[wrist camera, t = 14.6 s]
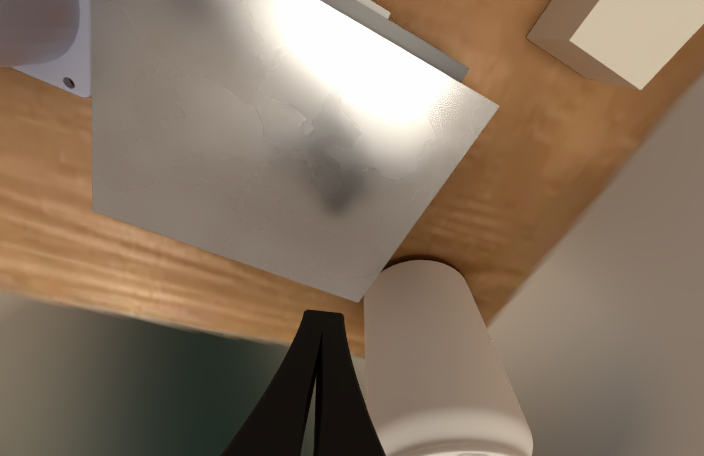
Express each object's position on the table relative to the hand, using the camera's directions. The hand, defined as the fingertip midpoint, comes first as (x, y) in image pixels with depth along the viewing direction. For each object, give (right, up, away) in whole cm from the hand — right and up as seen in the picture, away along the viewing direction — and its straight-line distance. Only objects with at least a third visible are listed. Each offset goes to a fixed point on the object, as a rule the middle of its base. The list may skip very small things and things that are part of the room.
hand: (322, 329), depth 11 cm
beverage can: (+6, -1, +13) cm, 14 cm away
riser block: (+12, +14, +3) cm, 18 cm away
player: (-2, +9, +6) cm, 11 cm away
